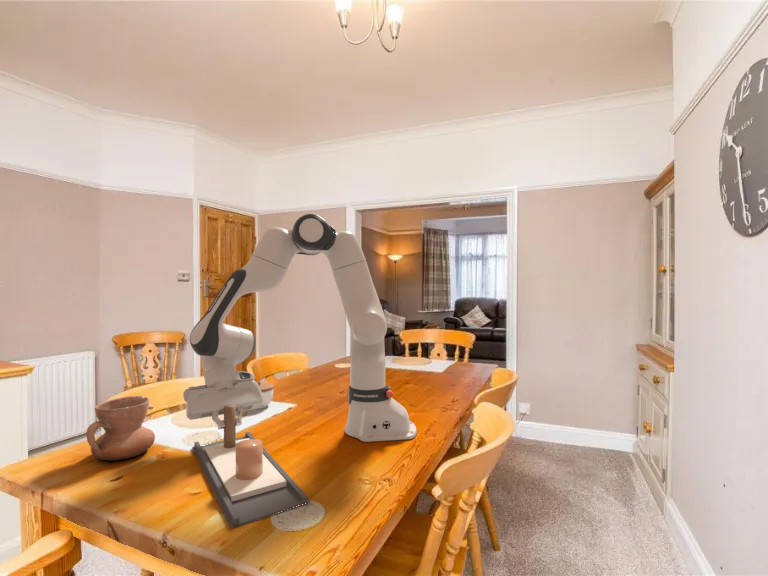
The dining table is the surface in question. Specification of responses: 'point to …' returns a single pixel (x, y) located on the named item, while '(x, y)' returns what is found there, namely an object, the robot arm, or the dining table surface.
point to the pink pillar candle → (249, 459)
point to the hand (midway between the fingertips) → (230, 426)
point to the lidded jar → (266, 393)
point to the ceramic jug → (121, 428)
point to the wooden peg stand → (225, 464)
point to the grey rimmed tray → (252, 505)
